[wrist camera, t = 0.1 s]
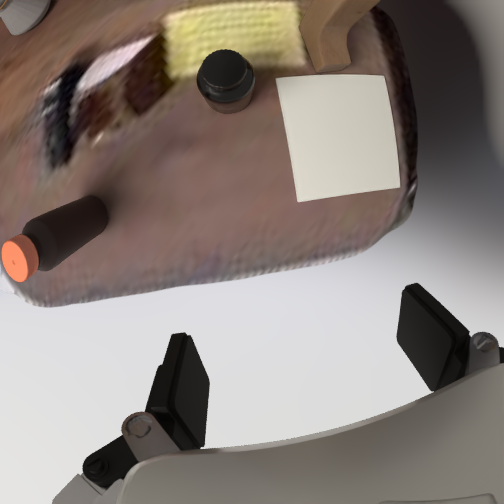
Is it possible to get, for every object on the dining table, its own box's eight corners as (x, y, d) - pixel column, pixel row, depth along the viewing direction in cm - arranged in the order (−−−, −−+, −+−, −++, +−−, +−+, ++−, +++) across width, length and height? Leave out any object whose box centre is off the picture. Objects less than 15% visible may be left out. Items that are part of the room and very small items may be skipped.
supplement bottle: (261, 84, 34) (270, 58, 22) (237, 122, 36) (237, 109, 24) (219, 64, 32) (212, 32, 21) (196, 102, 34) (178, 82, 23)
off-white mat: (275, 79, 33) (275, 78, 33) (382, 76, 33) (383, 75, 33) (297, 201, 40) (298, 202, 40) (398, 186, 40) (400, 187, 39)
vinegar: (95, 187, 38) (12, 220, 19) (115, 222, 40) (43, 275, 21) (70, 209, 38) (-10, 250, 20) (88, 242, 41) (18, 298, 22)
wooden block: (341, 71, 33) (402, 32, 16) (315, 74, 33) (365, 30, 16) (323, 24, 30) (368, -32, 13) (297, 26, 30) (331, -36, 13)
